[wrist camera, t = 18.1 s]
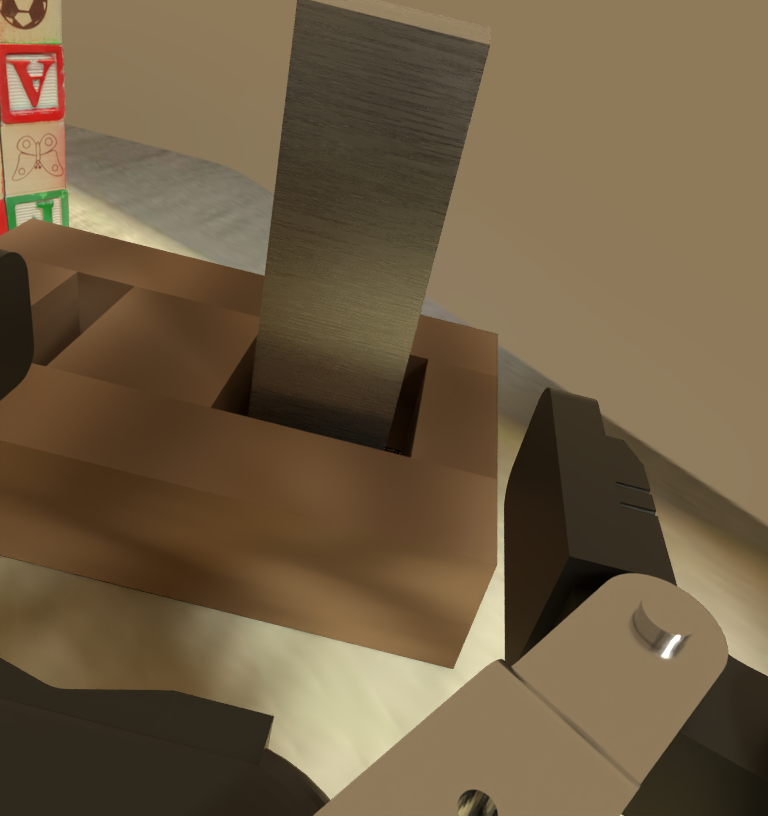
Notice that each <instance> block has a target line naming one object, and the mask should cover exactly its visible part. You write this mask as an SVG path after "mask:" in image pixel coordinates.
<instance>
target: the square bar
mask: <svg viewBox="0 0 768 816" xmlns="http://www.w3.org/2000/svg"><path fill="white" fill-rule="evenodd" d="M490 39H491V28H490V27H486V26H482V25H477V24H473V23H470V22H465V21H462V20H458V19H453V18H449V17H445V16H441V15H437V14H433V13H429V12H425V11H421V10H417V9H413V8H409V7H405V6H401V5H397V4H393V3H389V2H385V1H381V0H297V6H296V14H295V23H294V32H293V40H292V49H291V57H290V66H289V74H288V83H287V91H286V99H285V108H284V117H283V124H282V133H281V141H280V150H279V158H278V167H277V175H276V184H275V192H274V201H273V209H272V218H271V226H270V234H269V243H268V251H267V260H266V268H265V277H264V285H263V294H262V302H261V311H260V319H259V327H258V336H257V344H256V353H255V361H254V370H253V378H252V387H251V395H250V404H249V412H248V417H250V418H254V419H258V420H262V421H266V422H270V423H274V424H278V425H282V426H286V427H290V428H294V429H298V430H302V431H306V432H310V433H314V434H318V435H322V436H326V437H330V438H334V439H338V440H342V441H346V442H350V443H354V444H358V445H362V446H366V447H370V448H374V449H378V450H382V451H385V447H386V443H387V439H388V436H389V432H390V428H391V424H392V420H393V416H394V412H395V409H396V405H397V401H398V397H399V393H400V389H401V386H402V382H403V378H404V374H405V370H406V366H407V363H408V359H409V355H410V351H411V347H412V343H413V339H414V336H415V332H416V328H417V324H418V320H419V316H420V313H421V309H422V305H423V301H424V297H425V293H426V289H427V286H428V282H429V278H430V274H431V270H432V266H433V263H434V258H435V255H436V251H437V247H438V243H439V239H440V236H441V232H442V228H443V224H444V220H445V216H446V213H447V209H448V205H449V201H450V197H451V193H452V190H453V186H454V182H455V178H456V174H457V170H458V166H459V162H460V159H461V155H462V151H463V147H464V143H465V139H466V135H467V132H468V128H469V124H470V120H471V117H472V113H473V109H474V105H475V101H476V97H477V93H478V90H479V86H480V82H481V78H482V74H483V70H484V67H485V63H486V59H487V55H488V51H489V47H490Z"/></svg>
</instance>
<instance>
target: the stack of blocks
mask: <svg viewBox="0 0 768 816" xmlns="http://www.w3.org/2000/svg"><path fill="white" fill-rule="evenodd" d="M61 27H62V26H61V0H0V236H1V235H3V234H5V233H6V232H8V231H10V230H12V229H13V228H15V227H17V226H19V225H21V224H22V223H24V222H26V221H28V220H30V219H31V218H34V219H38V220H42V221H46V222H50V223H54V224H58V225H62V226H66V227H69V202H68V190H67V188H66V152H65V126H64V121H63V119H64V118H65V114H66V106H65V90H64V86H65V81H64V77H65V72H64V67H63V66H64V50H63V47H62V28H61Z"/></svg>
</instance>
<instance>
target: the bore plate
mask: <svg viewBox="0 0 768 816" xmlns="http://www.w3.org/2000/svg"><path fill="white" fill-rule="evenodd" d="M0 249H4V250H8V251H12V252H16V253H18V254H20V255H21V256H22V257H23V259H24V260H25V262H26V265H27V268H28V276H29V288H30V300H31V312H32V324H33V336H34V355H33V360H32V363H31V366H30V369H29V371H28V373H27V375H26V376H25V378H24V379H23V381H22V382H21V383H20V384H19V385H18V386H17V387H16V388H14V389H13V390H12V391H11V392H10V393H9V394H8V395H7V396H5V397H4V398H3V399H2V400H1V401H0V555H1V556H5V557H9V558H13V559H17V560H21V561H25V562H29V563H33V564H37V565H41V566H45V567H49V568H53V569H57V570H61V571H65V572H69V573H73V574H77V575H81V576H85V577H89V578H93V579H97V580H101V581H105V582H109V583H113V584H117V585H121V586H125V587H129V588H133V589H137V590H141V591H145V592H149V593H153V594H157V595H161V596H165V597H169V598H173V599H177V600H181V601H185V602H189V603H193V604H197V605H201V606H205V607H209V608H213V609H217V610H221V611H225V612H229V613H233V614H237V615H241V616H245V617H249V618H253V619H257V620H261V621H265V622H269V623H273V624H277V625H281V626H285V627H289V628H293V629H297V630H301V631H305V632H309V633H313V634H317V635H321V636H325V637H329V638H333V639H337V640H341V641H345V642H349V643H353V644H357V645H361V646H365V647H369V648H373V649H377V650H381V651H385V652H388V653H392V654H396V655H400V656H404V657H408V658H412V659H416V660H420V661H424V662H428V663H432V664H436V665H440V666H444V667H448V668H452V669H453V668H454V666H455V663H456V661H457V659H458V656H459V654H460V652H461V649H462V647H463V644H464V642H465V640H466V637H467V635H468V632H469V630H470V628H471V625H472V623H473V621H474V618H475V616H476V613H477V611H478V609H479V606H480V604H481V602H482V599H483V597H484V594H485V592H486V590H487V587H488V585H489V583H490V580H491V578H492V575H493V573H494V571H495V568H496V566H497V401H498V334H496V333H492V332H488V331H484V330H480V329H476V328H472V327H468V326H464V325H460V324H456V323H452V322H448V321H444V320H440V319H436V318H432V317H428V316H424V315H420V316H419V320H418V324H417V328H416V332H415V336H414V339H413V343H412V347H411V351H410V355H409V359H408V363H407V366H406V370H405V374H404V378H403V382H402V386H401V389H400V393H399V397H398V401H397V405H396V409H395V412H394V416H393V420H392V424H391V428H390V432H389V436H388V439H387V443H386V447H388V448H392V449H396V450H400V451H403V453H402V455H398V454H394V453H390V452H386V451H382V450H378V449H374V448H370V447H366V446H362V445H358V444H354V443H350V442H346V441H342V440H338V439H334V438H330V437H326V436H322V435H318V434H314V433H310V432H306V431H302V430H298V429H294V428H290V427H286V426H282V425H278V424H274V423H270V422H266V421H262V420H258V419H254V418H250V417H248V412H249V404H250V395H251V387H252V378H253V370H254V361H255V353H256V344H257V336H258V327H259V319H260V311H261V302H262V294H263V285H264V277H265V276H263V275H259V274H255V273H251V272H247V271H243V270H239V269H235V268H231V267H227V266H223V265H219V264H215V263H211V262H207V261H203V260H199V259H195V258H191V257H187V256H183V255H179V254H175V253H171V252H167V251H163V250H159V249H154V248H150V247H146V246H142V245H138V244H134V243H130V242H126V241H122V240H118V239H114V238H110V237H106V236H102V235H98V234H94V233H90V232H86V231H82V230H78V229H74V228H70V227H66V226H62V225H58V224H54V223H50V222H46V221H42V220H38V219H34V218H31V219H30V220H28V221H26V222H24V223H22V224H21V225H19V226H17V227H15V228H13V229H12V230H10V231H8V232H6V233H5V234H3V235H1V236H0Z"/></svg>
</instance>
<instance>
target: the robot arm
mask: <svg viewBox="0 0 768 816" xmlns="http://www.w3.org/2000/svg"><path fill="white" fill-rule="evenodd" d="M33 355H34V336H33V324H32V312H31V300H30V288H29V276H28V268H27V265H26V262H25V260H24V259H23V257H22V256H21V255H20V254H18V253H16V252H12V251H8V250H4V249H0V401H1V400H2V399H3V398H4V397H5V396H7V395H8V394H9V393H10V392H11V391H12V390H13V389H14V388H16V387H17V386H18V385H19V384H20V383H21V382H22V381H23V379H24V378H25V376H26V375H27V373H28V371H29V369H30V366H31V363H32V360H33ZM649 492H650V488H649V484H648V480H647V477H646V473H645V470H644V466H643V464H642V463H641V462H640V461H639V459H638V458H637V457H636V455H635V454H634V453H633V452H632V450H631V449H630V448H629V447H628V445H627V444H626V443H625V442H624V440H620V439H616V438H612V437H608V436H605V432H604V427H603V423H602V418H601V414H600V409H599V405H598V402H597V400H595V399H592V398H588V397H583V396H580V395H576V394H572V393H568V392H564V391H560V390H556V389H552V388H546V389H545V390H544V392H543V393H542V395H541V397H540V399H539V401H538V404H537V406H536V409H535V412H534V414H533V417H532V419H531V422H530V424H529V427H528V429H527V432H526V434H525V437H524V439H523V442H522V444H521V447H520V450H519V452H518V455H517V457H516V460H515V462H514V465H513V467H512V470H511V473H510V477H509V480H508V484H507V489H506V495H505V502H504V575H505V661H504V660H503V659H499V660H496V661H494V662H492V663H491V664H489V665H488V666H486V667H485V668H484V669H483V670H481V671H480V672H479V673H478V674H477V675H476V676H474V677H473V678H472V679H471V680H470V681H469V682H467V683H466V684H465V685H464V686H463V687H462V688H460V689H459V690H458V691H457V692H456V693H455V694H454V695H452V696H451V697H450V698H449V699H448V700H447V701H445V702H444V703H443V704H442V705H441V706H440V707H438V708H437V709H436V710H435V711H434V712H433V713H431V714H430V715H429V716H428V717H427V718H426V719H425V720H423V721H422V722H421V723H420V724H419V725H418V726H416V727H415V728H414V729H413V730H412V731H411V732H409V733H408V734H407V735H406V736H405V737H404V738H402V739H401V740H400V741H399V742H398V743H397V744H396V745H394V746H393V747H392V748H391V749H390V750H389V751H387V752H386V753H385V754H384V755H383V756H382V757H380V758H379V759H378V760H377V761H376V762H375V763H373V764H372V765H371V766H370V767H369V768H368V769H367V770H365V771H364V772H363V773H362V774H361V775H360V776H358V777H357V778H356V779H355V780H354V781H353V782H351V783H350V784H349V785H348V786H347V787H346V788H344V789H343V790H342V791H341V792H340V793H339V794H338V795H336V796H335V797H334V798H333V799H332V800H330V799H329V798H328V796H327V795H326V794H325V793H324V792H323V791H322V790H321V789H320V788H319V787H318V786H317V785H316V784H315V783H314V782H313V781H312V780H311V779H310V778H309V777H308V776H307V775H306V774H304V773H303V772H302V771H301V770H299V769H298V768H297V767H295V766H294V765H293V764H291V763H290V762H289V761H287V760H286V759H284V758H283V757H281V756H279V755H278V754H276V753H274V752H272V751H271V750H269V749H267V748H268V743H269V738H270V733H271V728H272V723H273V718H274V716H271V715H267V714H263V713H259V712H255V711H252V710H248V709H244V708H240V707H236V706H232V705H228V704H224V703H220V702H216V701H212V700H208V699H204V698H200V697H197V696H193V695H189V694H185V693H181V692H177V691H164V690H89V689H59V688H55V687H51V686H49V685H47V684H45V683H43V682H41V681H40V680H38V679H36V678H35V677H33V676H31V675H29V674H28V673H26V672H24V671H22V670H21V669H19V668H17V667H16V666H14V665H12V664H10V663H9V662H7V661H5V660H3V659H2V658H0V816H620V815H621V814H622V815H624V816H768V676H766V675H764V674H762V673H760V672H758V671H756V670H754V669H753V668H751V667H749V666H747V665H745V664H743V663H741V662H740V661H738V660H736V659H735V658H733V657H732V656H730V655H729V654H728V646H727V642H726V639H725V636H724V634H723V632H722V630H721V628H720V626H719V625H718V623H717V622H716V620H715V619H714V617H713V616H712V615H711V614H710V613H709V611H708V610H707V609H706V608H705V607H704V606H703V605H702V604H701V603H700V602H699V601H697V600H696V599H695V598H693V597H692V596H691V595H690V594H688V593H687V592H685V591H684V590H682V589H681V588H679V587H677V584H676V580H675V577H674V573H673V570H672V566H671V562H670V559H669V555H668V552H667V548H666V545H665V541H664V537H663V534H662V530H661V527H660V523H659V520H658V516H655V512H656V509H655V505H654V502H653V498H652V495H649Z"/></svg>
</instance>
